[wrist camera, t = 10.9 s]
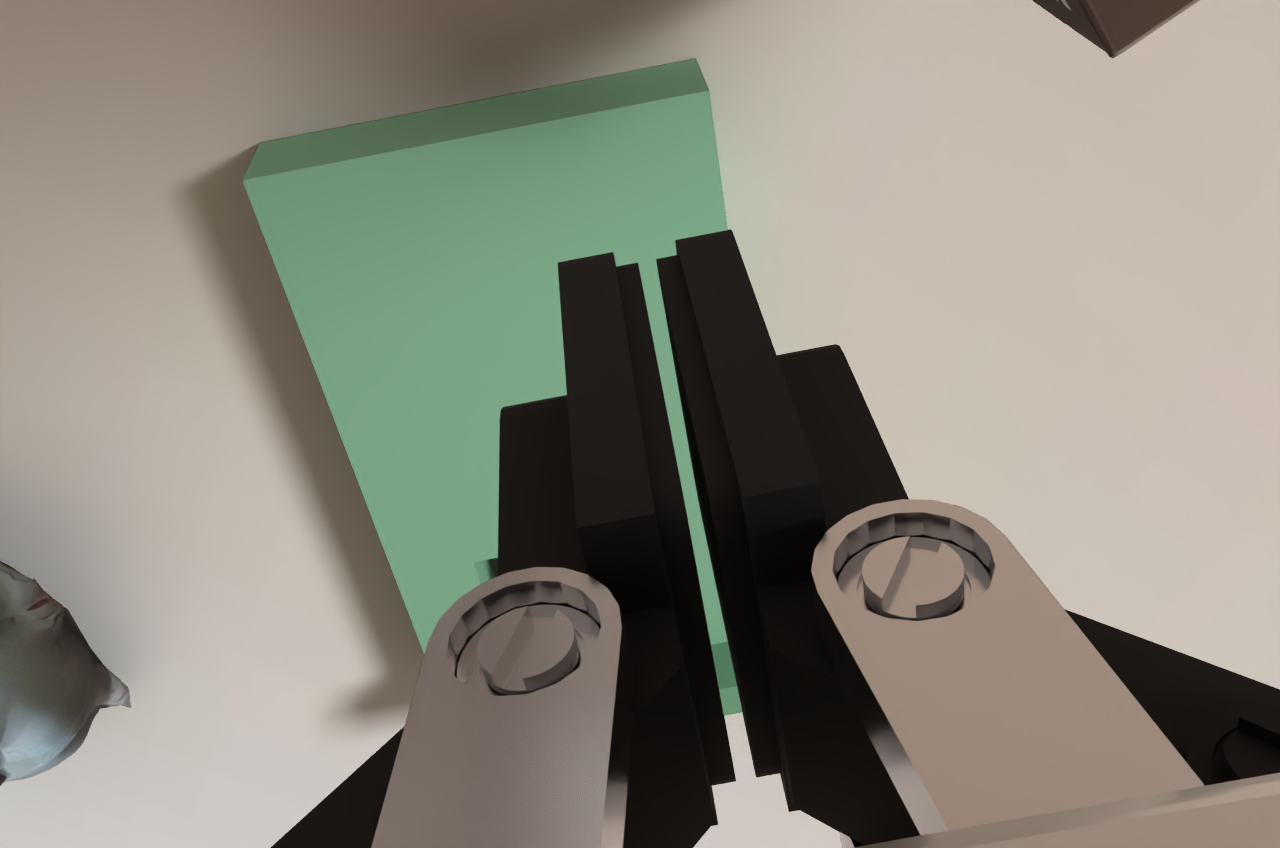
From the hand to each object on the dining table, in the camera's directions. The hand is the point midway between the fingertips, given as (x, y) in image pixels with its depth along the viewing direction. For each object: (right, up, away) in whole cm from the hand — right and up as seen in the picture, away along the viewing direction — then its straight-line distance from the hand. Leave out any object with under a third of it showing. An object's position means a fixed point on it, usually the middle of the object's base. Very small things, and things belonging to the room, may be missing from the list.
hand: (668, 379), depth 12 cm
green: (-3, 0, +33) cm, 33 cm away
